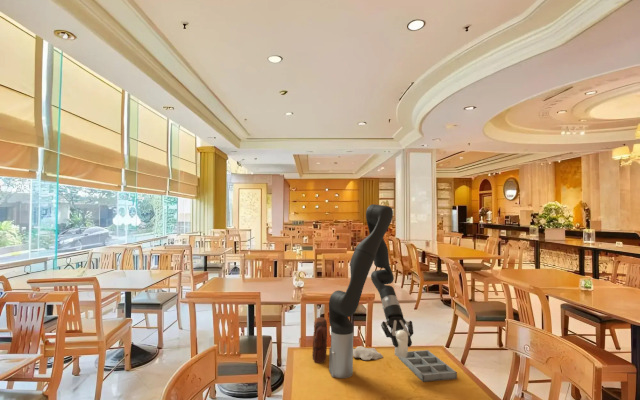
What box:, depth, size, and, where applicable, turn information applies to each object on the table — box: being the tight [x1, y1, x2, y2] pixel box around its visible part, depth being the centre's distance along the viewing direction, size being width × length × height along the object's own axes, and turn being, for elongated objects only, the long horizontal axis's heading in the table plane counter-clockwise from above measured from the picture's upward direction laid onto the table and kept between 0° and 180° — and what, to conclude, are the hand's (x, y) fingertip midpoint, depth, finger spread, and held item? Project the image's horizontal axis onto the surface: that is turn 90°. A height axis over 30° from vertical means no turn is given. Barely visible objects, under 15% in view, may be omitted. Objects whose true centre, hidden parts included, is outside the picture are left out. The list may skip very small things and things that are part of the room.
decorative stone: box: [353, 345, 384, 361], centre depth 156 cm, size 11×4×15 cm
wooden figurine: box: [312, 316, 328, 364], centre depth 153 cm, size 12×6×18 cm, turn 3°
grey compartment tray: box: [398, 349, 458, 383], centre depth 145 cm, size 15×22×3 cm, turn 12°
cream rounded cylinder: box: [394, 329, 409, 358], centre depth 138 cm, size 5×5×10 cm
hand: (403, 346), depth 136 cm, fingers closed on cream rounded cylinder, 5 cm apart
